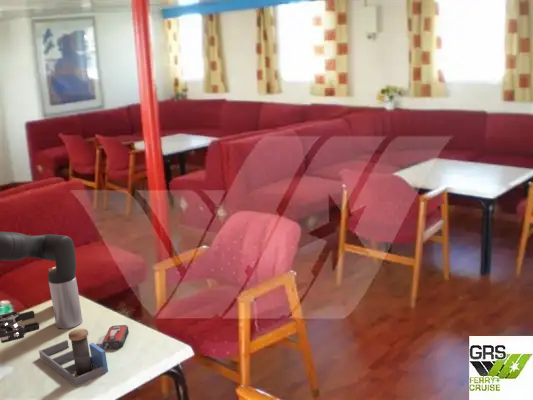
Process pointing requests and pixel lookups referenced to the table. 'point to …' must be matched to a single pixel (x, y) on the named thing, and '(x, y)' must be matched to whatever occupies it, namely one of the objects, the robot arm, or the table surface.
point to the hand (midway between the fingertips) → (36, 319)
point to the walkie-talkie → (114, 337)
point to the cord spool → (80, 351)
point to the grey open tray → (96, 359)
